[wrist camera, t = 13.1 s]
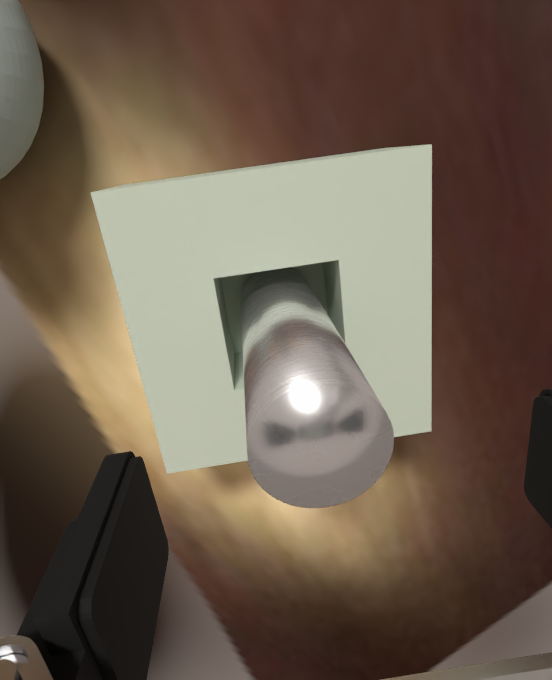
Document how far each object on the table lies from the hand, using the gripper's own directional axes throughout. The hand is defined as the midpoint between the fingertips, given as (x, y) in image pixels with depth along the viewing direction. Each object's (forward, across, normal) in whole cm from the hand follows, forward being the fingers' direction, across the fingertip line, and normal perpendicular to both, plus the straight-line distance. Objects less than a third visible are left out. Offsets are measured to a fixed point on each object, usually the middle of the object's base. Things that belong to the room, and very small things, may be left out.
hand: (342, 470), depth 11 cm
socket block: (+17, +1, +1) cm, 17 cm away
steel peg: (+15, 0, +1) cm, 15 cm away
